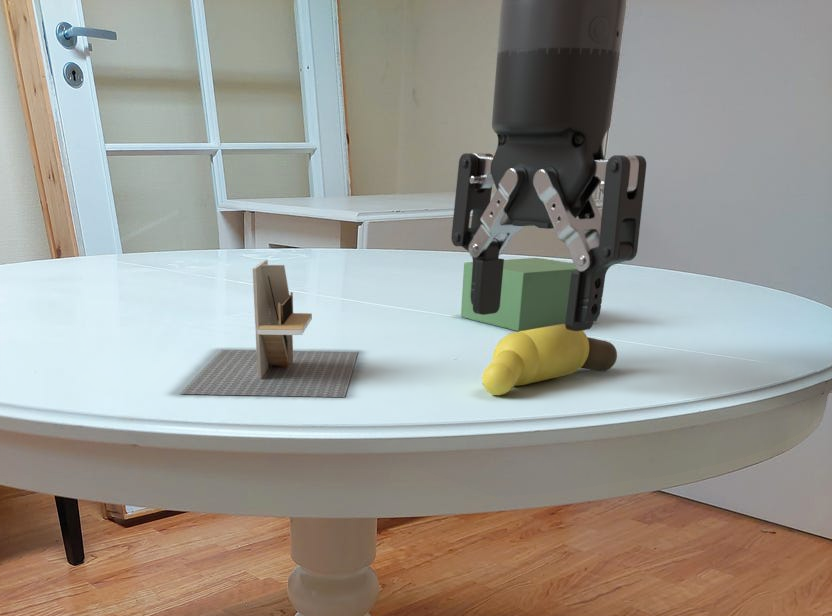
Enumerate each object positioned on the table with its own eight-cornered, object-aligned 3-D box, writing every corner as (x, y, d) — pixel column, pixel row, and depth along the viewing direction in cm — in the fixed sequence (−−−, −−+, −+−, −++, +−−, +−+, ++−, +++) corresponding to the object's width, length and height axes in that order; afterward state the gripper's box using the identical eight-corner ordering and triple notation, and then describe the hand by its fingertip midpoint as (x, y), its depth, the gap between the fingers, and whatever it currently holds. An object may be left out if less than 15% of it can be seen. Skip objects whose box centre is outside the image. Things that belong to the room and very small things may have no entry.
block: (531, 309, 92) (536, 257, 89) (592, 323, 85) (599, 266, 82) (460, 317, 88) (463, 262, 85) (518, 331, 81) (523, 272, 78)
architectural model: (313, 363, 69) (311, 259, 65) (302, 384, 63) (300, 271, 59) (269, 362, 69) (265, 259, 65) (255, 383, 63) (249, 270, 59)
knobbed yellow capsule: (572, 345, 69) (598, 307, 66) (606, 382, 68) (633, 345, 65) (449, 369, 61) (472, 327, 59) (484, 412, 60) (510, 371, 57)
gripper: (694, 44, 52) (646, 330, 60) (512, 58, 62) (491, 304, 70) (618, 33, 48) (577, 342, 56) (435, 51, 58) (422, 312, 66)
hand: (529, 321), depth 63 cm, fingers open, 8 cm apart
